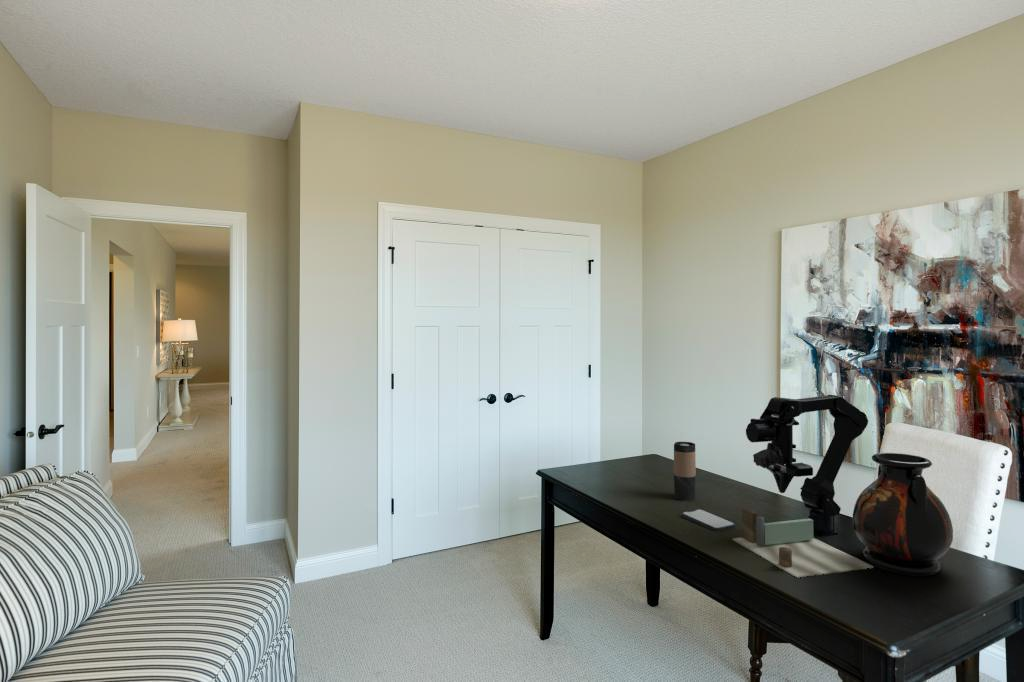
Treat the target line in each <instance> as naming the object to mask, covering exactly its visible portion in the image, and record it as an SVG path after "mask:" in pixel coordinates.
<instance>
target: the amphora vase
mask: <svg viewBox="0 0 1024 682" xmlns="http://www.w3.org/2000/svg"><path fill="white" fill-rule="evenodd" d="M871 460H872V461H873V462H875V463H876V464H878V469H877V478H876V479H875V480H874V481H872V483H870V484H869V485H868V486H867V487H865V488H864V489H863V490H862V492H860V494H859V495H858V497H857V499H856V500H855V503H854V506H853V510H852V527H853V531H854V533H855V534H856V536H857V538H858V539H859V541H860V542H861V543H862V544H863V545H864V546H865V548H863V551H862V553H863V557H864V558H865V559H866V560H867V561H868V562H869V563H870V564H871V565H874V566H876V567H878V568H879V569H882V570H885V571H888V572H891V573H895V574H899V575H904V576H905V575H906V576H912V577H914V576H915V577H925V576H930V575H935V574H937V573H938V572H939V571H940V569H941V564H940V562H939V561H938V559H940V558H942V557H943V556H944V555H945V554H946V553H948V551H949V549H950V548H951V545H952V543H953V541H954V539H953V538H954V528H953V522H952V519H951V516H950V514H949V511H948V510H947V508H946V506H945V504H944V503H943V502H942V500H941V498H940V497H938V496H937V495H936V494H935V492H933V491H932V489H931V488H930V487H928V485H927V483H926V480H925V478H924V477H923V474H922V473H923V471H924V469H928V468H930V467H932V465H933V463H932V461H931V460H930V459H928V458H926V457H922V456H919V455H914V454H907V453H900V452H899V453H898V452H878V453H875V454H873V455H872V456H871Z"/></svg>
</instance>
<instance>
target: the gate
mask: <svg viewBox="0 0 1024 682" xmlns="http://www.w3.org/2000/svg"><path fill="white" fill-rule="evenodd" d="M813 538H814V532H813V520H812V519H810V518H809V519H808V518H801V519H793V520H783V521H773V522H765V518H764V517H763V516H757V517H756V544H757V545H759V546H764V545H770V544H779V543H787V542H796V541H805V540H813Z"/></svg>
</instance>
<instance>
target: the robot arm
mask: <svg viewBox="0 0 1024 682" xmlns="http://www.w3.org/2000/svg"><path fill="white" fill-rule="evenodd" d="M827 410H828V412H829V415H831V417H833V418H834V420H833V424H832V425H833V430H834V434H833V437H832V439H831V441H830V444H829V446H828V448H827V450H826V452H825V454H824V456H823V459H822V461H821V463H820V466H819V468H818V470H817V472H816V474H815V476H814V468H813V467H812V466H811V465H810V464H807V463H803V462H797V458H796V457H794V456H793V454H794V452H793V451H794V450H793V449H796V448H797V444H795V443H793V440H794V439H793V437H794V436H793V435H794V434H793V429H794V428H793V427H794V426H799V425H800V423H799V421H798V420H796V418H797V417H800V415H802V414H804V413H810V412H819V411H827ZM868 424H869V419H868V417H867V414H866V413H865V412H864V411H862V410H860V409H859V408H858V407H856V406H855V405H854V404H852V403H850V402H849V401H847V399H845V398H844V397H843V396H841V395H836V394H826V395H822V396H813V397H804V398H785V397H779V396H777V397H776V396H775V397H772V398H770V399H769V402H768V404H767V406H766V408H765V409H764V411H763V412H762V414H761V415H760V417H759V418H751V419H750V423H748V424H747V426H746V429H745V435H746V438H747V440H748V441H749V442H750V443H764V442H768V443H767V445H766V449H763V450H760V451H758V452H756V453H754V454H753V455H752V457H753V463H755V466H759V467H761V468H762V469H766V470H767V471H769V472H770V473H772V475H773V477H774V480H775V482H776V486H777V489H778V491H779V493H780V494H785V493H786V490H788V488H789V486H790V484H791V482H792V480H793V479H794V477H797V478H798V477H806V478H805V479H804V481H803V484H802V486H801V487H800V490H801V491H800V494H799V495H800V497H801V500H802V502H803V504H804V507H805V508H806V509H810V510H809V515H808V517H807V519H809V518H810V519H812V520H813V534H814V533H815V534H817V535H819V536H828V535H829V536H830V535H838V534H840V533H839V531H837V530H835V517H836V516H840V514H841V513H840V512H841V509H842V507H840V506H839V505H838V503H837V502H836V501H835V500H834V497H835V494H836V492H835V486H834V482H835V480H836V478H837V476H838V473H839V471H840V469H841V467H842V464H844V463H843V462H844V460H845V458H846V455H847V453H848V452H849V449H850V447H851V444H852V442H853V441H855V439H856V438H858V437H860V436H861V435H863V432H864V431H865V429H866V428H867V427H868ZM810 476H813V477H811V478H810Z"/></svg>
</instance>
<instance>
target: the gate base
mask: <svg viewBox="0 0 1024 682" xmlns="http://www.w3.org/2000/svg"><path fill="white" fill-rule="evenodd" d="M741 510H742V513H741V515H742V516H741V518H742V520H741V521H742V522H741V523H742V525H741V528H742V529H741V532H742V535H741V536H742V537H736V538H732V541H733V542H735V543H737V544H738V545H740V546H742V547H743V548H745V549H747V550H749V551H751V552H752V553H754V554H756V555H757V556H758V557H760V556H761V558H762V559H764V560H765V561H767V562H769V563H771V564H772V565H774V566H776V567H777V568H779V569H780V570H782V569H783V570H782V571H784V572H786V573H788V574H789V575H790V576H792V577H794V576H795V578H796V577H797V578H796V579H801V578H808V577H807V576H809V577H815V575H816V576H822V575H823V574H824V575H830V574H839V573H846V572H853V570H854V571H860V569H861V570H868V569H867V568H869V569H874V568H875V567H874V566H875V565H874V566H873V564H871V563H870V564H869V563H868V562H865V561H863V560H861V559H859V558H857V557H856V556H852V554H851V555H850V554H849V553H847V552H844V551H842V550H840V549H838V548H835V547H834V546H831V545H830V544H827V543H825V542H824V541H821V540H819V539H818V538H815V537H813V540H805V541H796V542H787V543H779V544H770V545H764V546H759V545H757V544H756V517H758V513H757V512H755V511H754V510H752V509H749V508H747V507H745V508H744V507H743V508H742V509H741ZM780 547H787V548H790V549H791V550H792V567H783V566H780V565H779V548H780ZM824 575H823V576H824ZM800 577H801V578H800Z"/></svg>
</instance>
